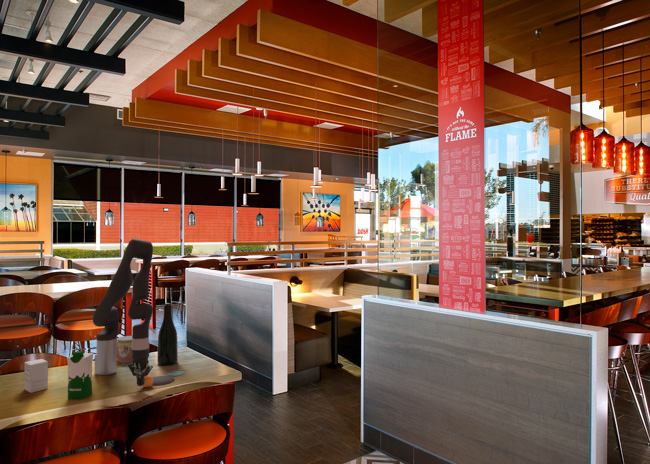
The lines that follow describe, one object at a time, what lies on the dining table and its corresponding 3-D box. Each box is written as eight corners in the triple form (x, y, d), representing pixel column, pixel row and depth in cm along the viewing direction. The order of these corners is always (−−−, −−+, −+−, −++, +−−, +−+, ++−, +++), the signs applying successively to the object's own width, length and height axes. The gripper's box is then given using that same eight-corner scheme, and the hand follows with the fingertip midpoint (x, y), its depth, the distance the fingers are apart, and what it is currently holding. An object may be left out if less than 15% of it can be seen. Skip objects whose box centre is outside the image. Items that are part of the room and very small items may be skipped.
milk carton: (64, 400, 193) (64, 353, 193) (75, 393, 202) (75, 348, 202) (85, 400, 193) (85, 353, 193) (95, 392, 202) (95, 347, 202)
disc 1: (138, 385, 213) (138, 384, 213) (153, 375, 227) (153, 375, 227) (166, 386, 211) (166, 385, 211) (179, 376, 225) (179, 376, 225)
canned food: (113, 361, 251) (113, 340, 251) (123, 356, 262) (123, 335, 262) (133, 362, 251) (133, 340, 251) (142, 356, 262) (142, 335, 262)
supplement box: (42, 385, 212) (42, 358, 212) (48, 388, 207) (48, 361, 207) (23, 389, 206) (24, 361, 206) (29, 393, 201) (30, 364, 201)
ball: (141, 372, 209) (150, 371, 214) (136, 383, 209) (145, 381, 214) (148, 380, 206) (157, 378, 211) (143, 390, 207) (152, 388, 211)
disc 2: (165, 375, 226) (165, 375, 226) (172, 371, 234) (172, 370, 234) (180, 376, 225) (180, 376, 225) (187, 371, 233) (187, 371, 233)
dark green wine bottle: (161, 360, 254) (162, 301, 254) (180, 360, 253) (180, 301, 253) (154, 366, 243) (154, 304, 243) (173, 366, 243) (173, 304, 243)
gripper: (157, 346, 208) (157, 384, 208) (135, 344, 213) (135, 381, 213) (145, 350, 201) (145, 389, 201) (123, 348, 206) (122, 386, 206)
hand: (140, 385), depth 207 cm, fingers closed
